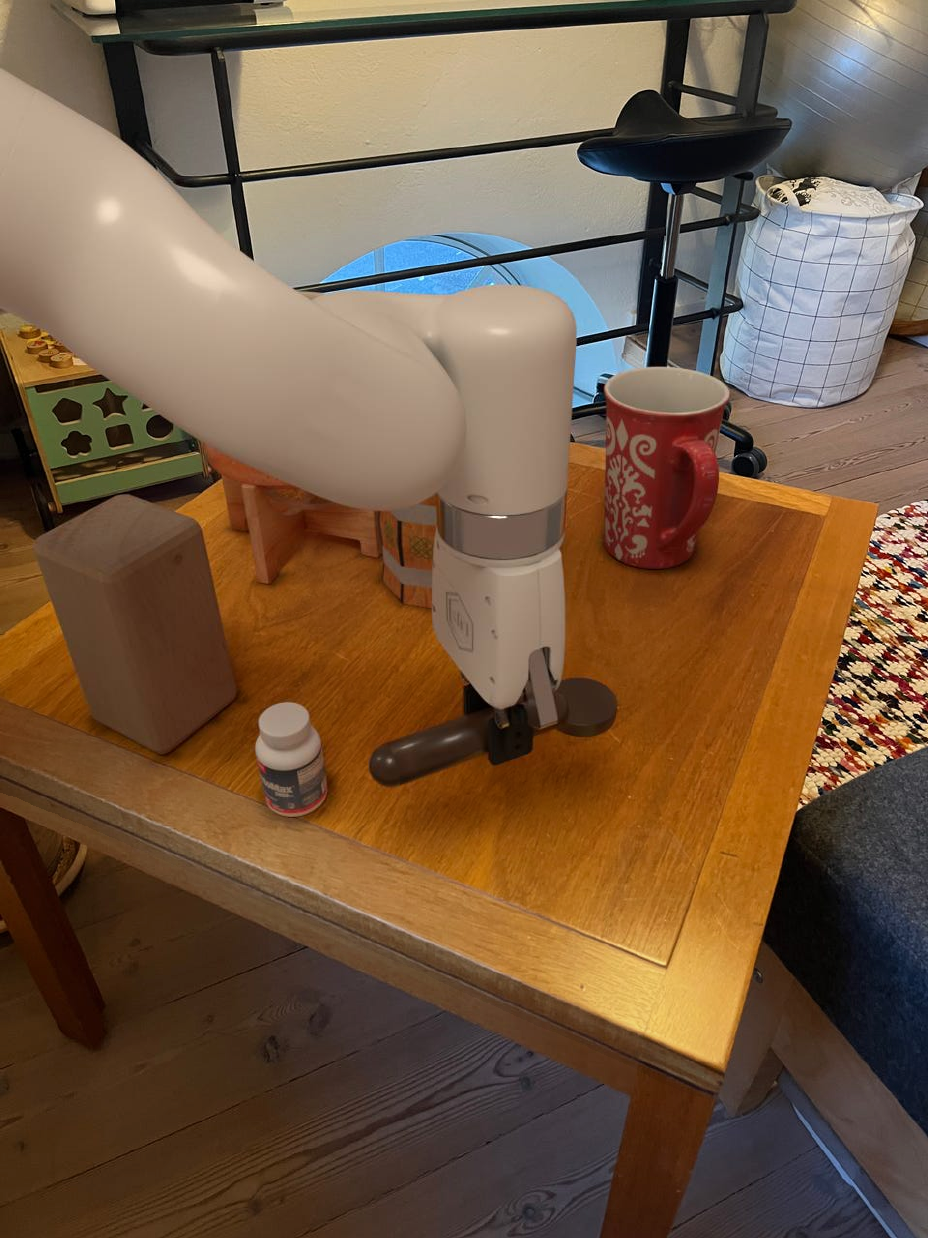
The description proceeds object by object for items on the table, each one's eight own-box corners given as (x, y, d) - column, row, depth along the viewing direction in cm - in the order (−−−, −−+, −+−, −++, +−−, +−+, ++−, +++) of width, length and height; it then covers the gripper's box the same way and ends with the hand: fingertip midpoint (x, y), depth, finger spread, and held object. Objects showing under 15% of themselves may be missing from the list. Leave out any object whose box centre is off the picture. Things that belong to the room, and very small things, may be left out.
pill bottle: (252, 799, 77) (235, 722, 72) (296, 763, 80) (283, 687, 75) (296, 829, 75) (282, 751, 69) (340, 790, 78) (330, 713, 73)
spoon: (386, 815, 59) (383, 782, 57) (357, 763, 63) (354, 731, 61) (630, 723, 66) (634, 692, 64) (590, 681, 69) (593, 650, 68)
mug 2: (577, 523, 113) (588, 370, 101) (678, 512, 115) (701, 360, 103) (626, 609, 98) (646, 442, 86) (741, 595, 100) (776, 429, 88)
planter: (343, 601, 100) (316, 363, 84) (188, 568, 106) (135, 339, 90) (413, 514, 115) (402, 298, 99) (274, 489, 121) (242, 281, 105)
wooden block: (242, 698, 87) (204, 517, 75) (163, 762, 81) (107, 575, 69) (169, 663, 92) (122, 486, 80) (88, 721, 85) (23, 538, 73)
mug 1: (384, 615, 98) (374, 491, 89) (380, 548, 109) (370, 432, 100) (565, 602, 99) (573, 479, 90) (543, 537, 110) (548, 421, 101)
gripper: (387, 468, 58) (402, 688, 69) (511, 602, 46) (506, 842, 57) (492, 443, 60) (490, 659, 71) (636, 564, 49) (607, 800, 60)
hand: (497, 738), depth 64 cm, fingers closed on spoon, 3 cm apart
